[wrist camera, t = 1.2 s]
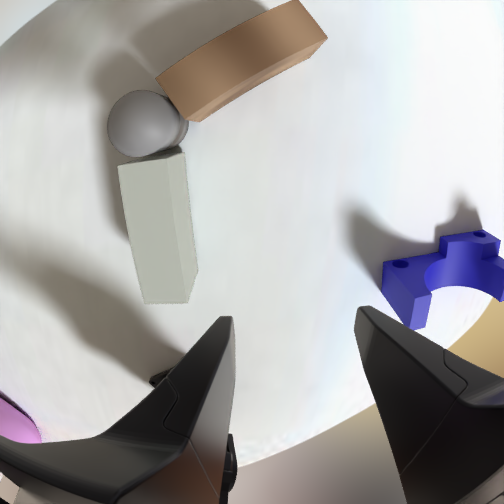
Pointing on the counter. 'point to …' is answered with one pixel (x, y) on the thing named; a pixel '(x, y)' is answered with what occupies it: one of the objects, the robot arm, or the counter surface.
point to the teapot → (17, 425)
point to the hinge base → (240, 61)
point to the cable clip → (443, 274)
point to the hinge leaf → (155, 196)
